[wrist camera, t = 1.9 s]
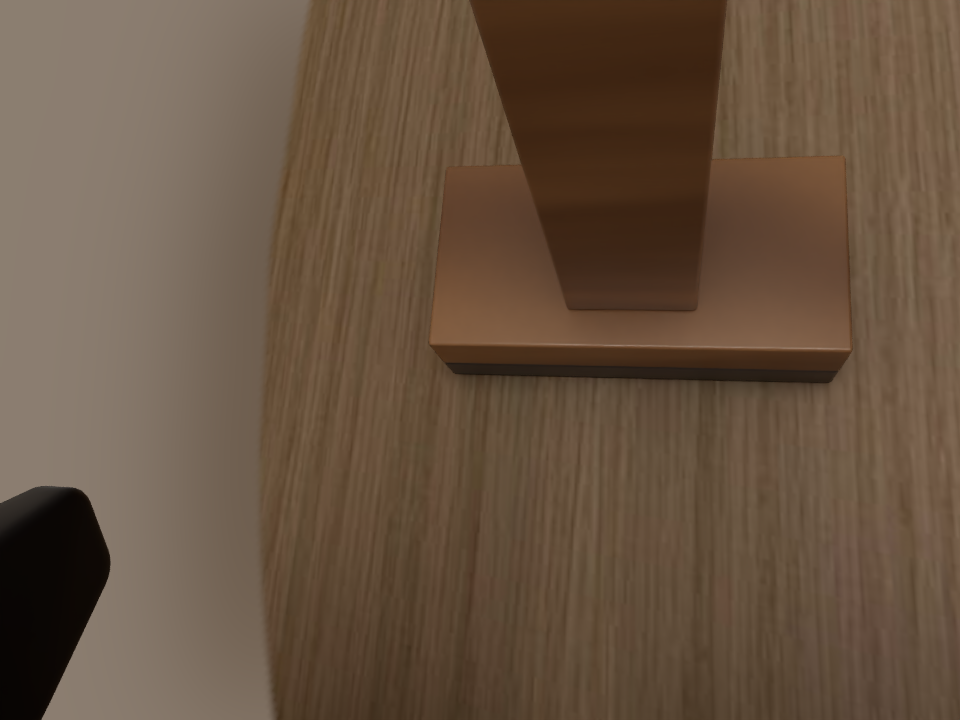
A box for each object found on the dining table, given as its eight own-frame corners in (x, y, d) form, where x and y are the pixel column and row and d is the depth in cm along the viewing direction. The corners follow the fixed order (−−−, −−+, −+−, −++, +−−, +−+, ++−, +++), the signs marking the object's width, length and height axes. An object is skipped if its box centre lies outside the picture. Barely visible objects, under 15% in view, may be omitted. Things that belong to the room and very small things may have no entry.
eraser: (831, 383, 20) (1085, 16, 8) (453, 374, 22) (187, 68, 10) (826, 205, 21) (1039, -351, 9) (467, 211, 23) (248, -241, 11)
